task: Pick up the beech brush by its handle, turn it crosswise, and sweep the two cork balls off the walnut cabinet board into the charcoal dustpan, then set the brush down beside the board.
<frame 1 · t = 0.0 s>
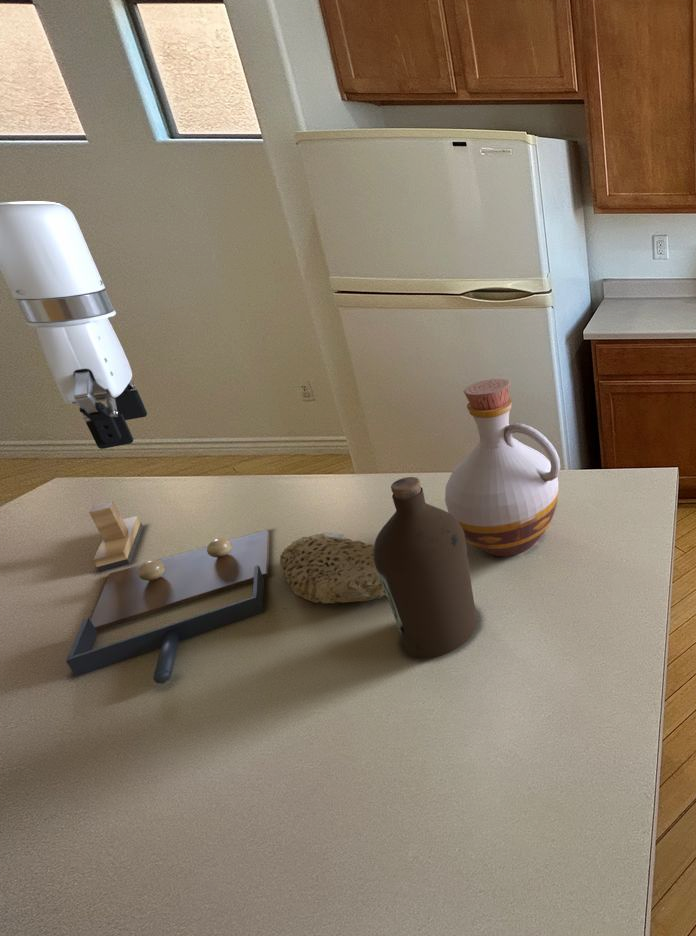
hand: (125, 431, 75), 27 cm above the counter, tool pointing down, fingers open, 9 cm apart
cabinet board: (191, 579, 88), on the counter
ball b: (219, 547, 90), point 3 cm above the counter, touching cabinet board
brush: (123, 550, 94), on the counter
sponge: (347, 585, 87), on the counter
ball a: (151, 570, 85), point 3 cm above the counter, touching cabinet board
dustpan: (181, 624, 79), on the counter
olive oil: (441, 634, 78), on the counter
jug: (517, 544, 97), on the counter
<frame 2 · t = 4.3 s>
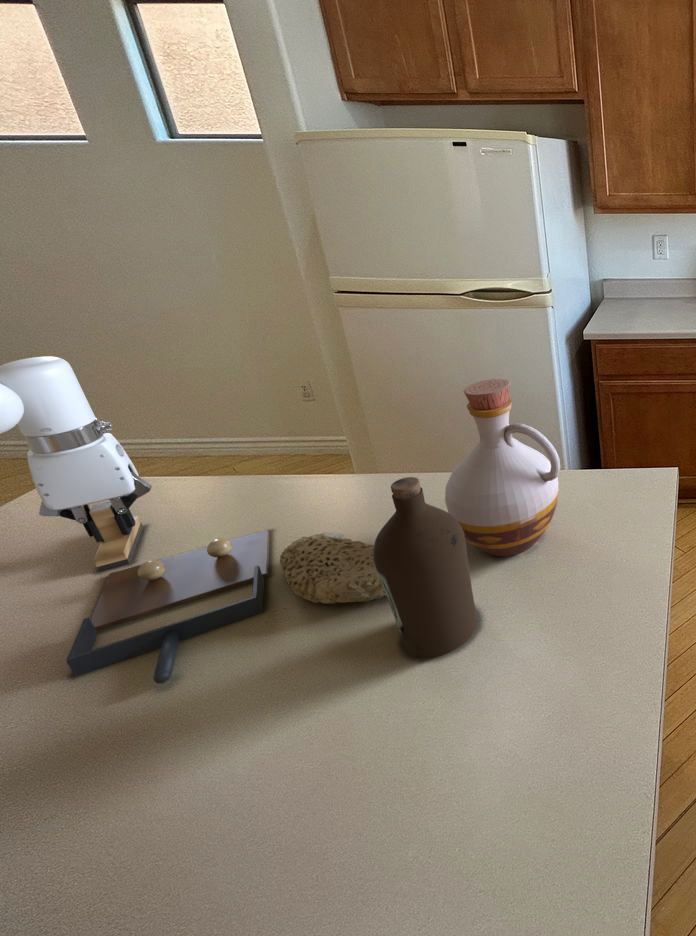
hand: (115, 533, 92), 4 cm above the counter, tool pointing down, fingers closed on brush, 2 cm apart
brush: (124, 550, 94), on the counter, touching gripper
everything else where it was.
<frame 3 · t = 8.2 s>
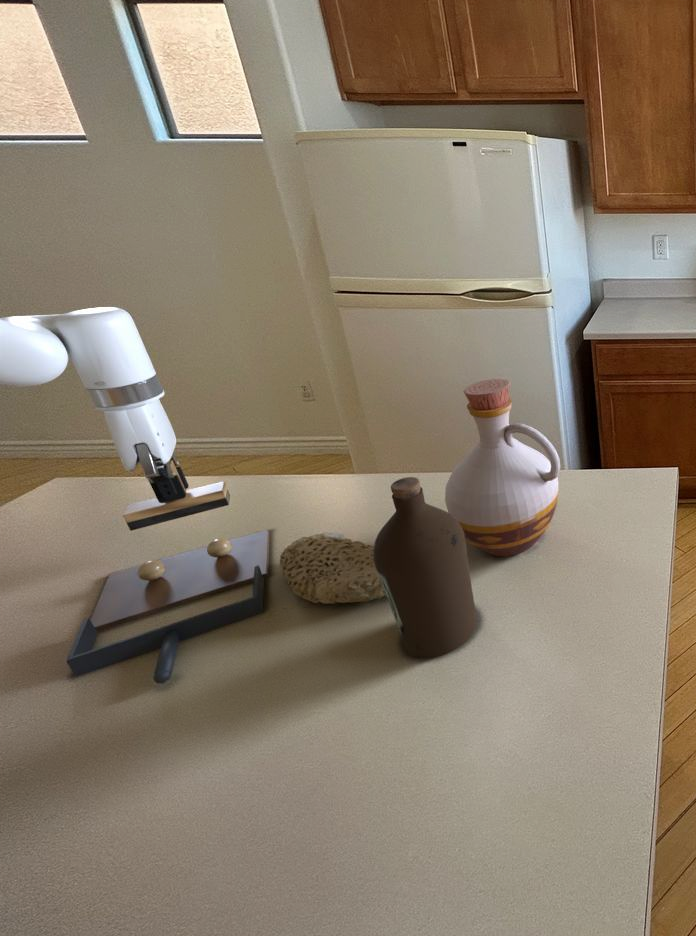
hand: (174, 494, 90), 11 cm above the counter, tool pointing down, fingers closed on brush, 2 cm apart
brush: (182, 512, 91), point 8 cm above the counter, touching gripper
everything else where it was.
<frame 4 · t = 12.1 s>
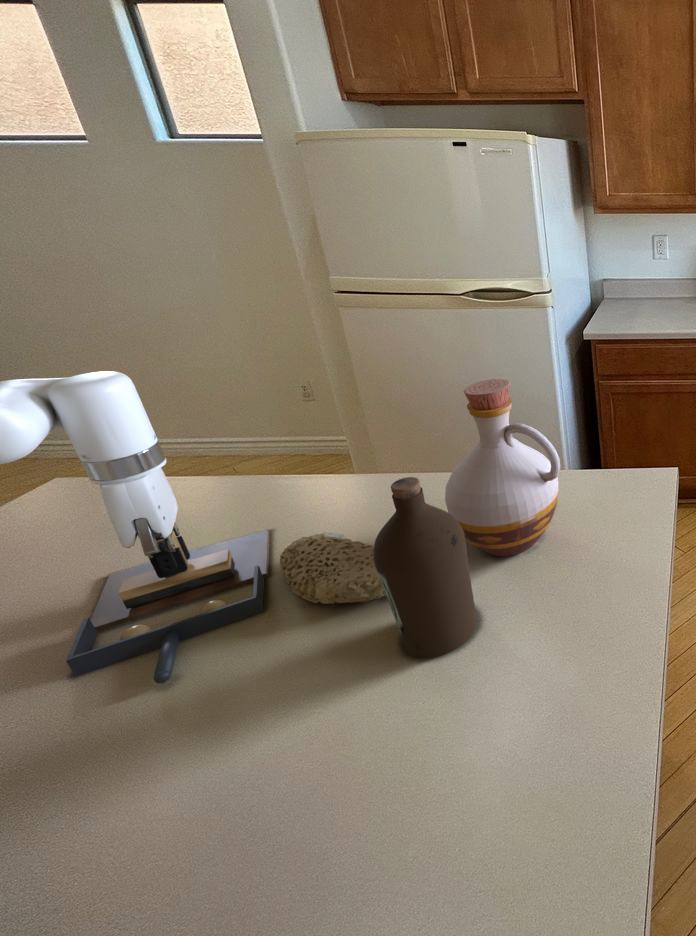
hand: (175, 566, 83), 5 cm above the counter, tool pointing down, fingers closed on brush, 2 cm apart
ball b: (214, 611, 79), point 2 cm above the counter, tilted 96°, touching dustpan
brush: (183, 585, 84), point 2 cm above the counter, touching gripper
ball a: (136, 636, 75), point 2 cm above the counter, tilted 141°, touching dustpan
everything else where it was.
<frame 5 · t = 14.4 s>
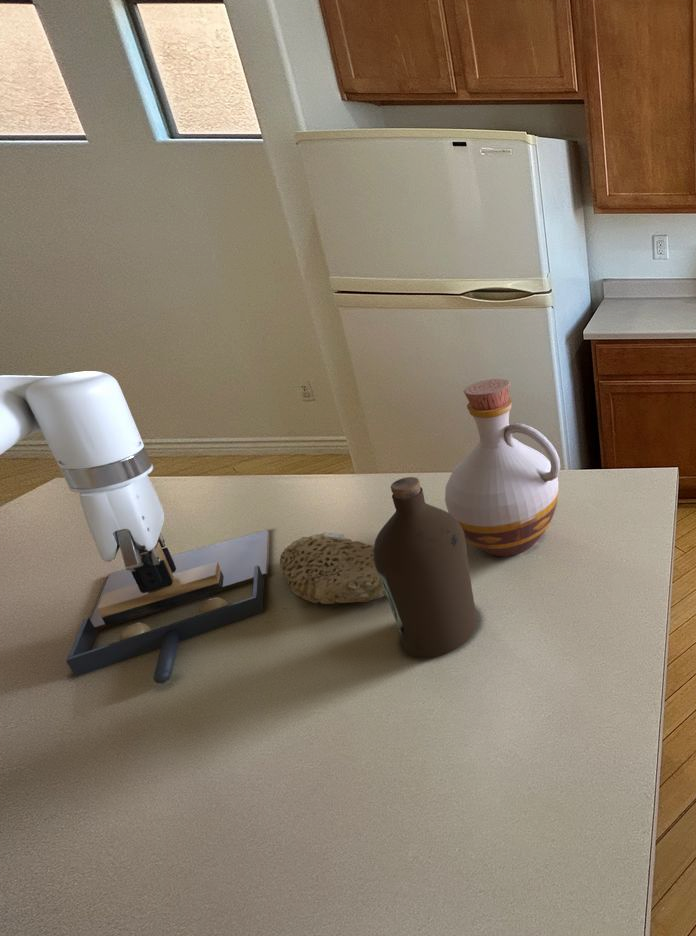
hand: (159, 580, 78), 7 cm above the counter, tool pointing down, fingers closed on brush, 2 cm apart
ball b: (213, 608, 80), point 2 cm above the counter, tilted 121°, touching dustpan
brush: (168, 600, 79), point 3 cm above the counter, touching gripper
ball a: (135, 635, 75), point 2 cm above the counter, tilted 155°, touching dustpan
everything else where it was.
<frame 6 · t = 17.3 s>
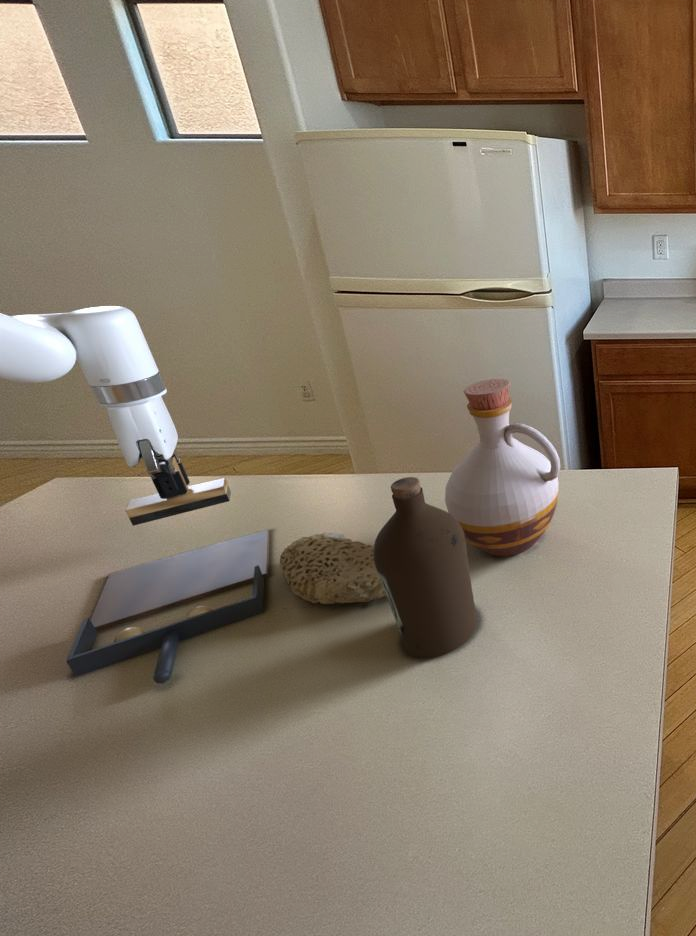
hand: (175, 490, 91), 11 cm above the counter, tool pointing down, fingers closed on brush, 2 cm apart
ball b: (200, 617, 78), point 2 cm above the counter, tilted 76°, touching dustpan
brush: (184, 508, 93), point 7 cm above the counter, touching gripper
ball a: (130, 638, 74), point 2 cm above the counter, tilted 135°, touching dustpan
everything else where it was.
when the fingers open (4 cm above the counter, at t = 19.2 s): brush stays where it is, on the counter.
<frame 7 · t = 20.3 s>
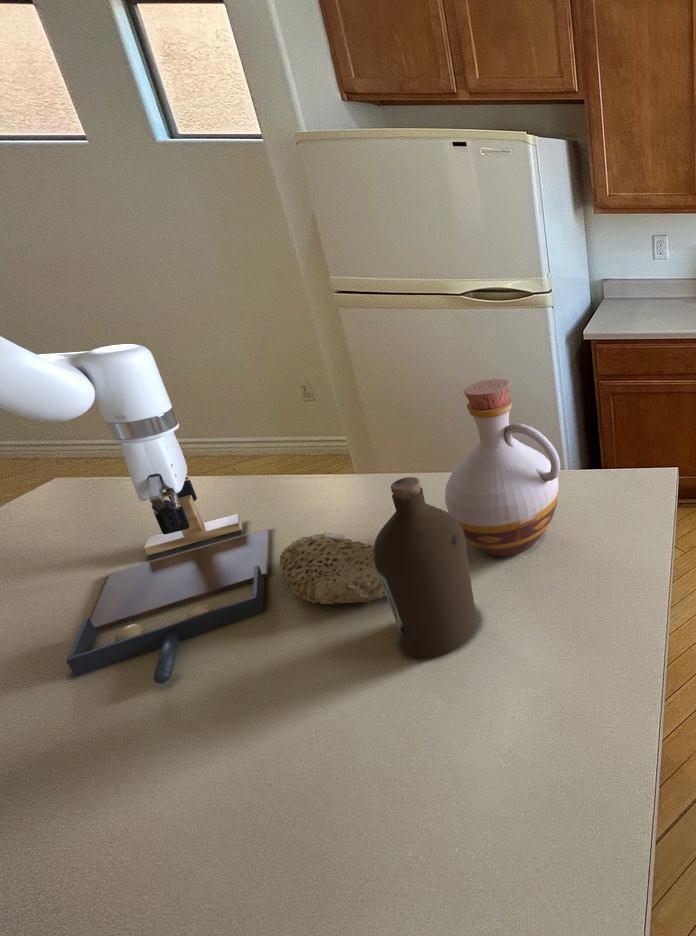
hand: (181, 516, 92), 6 cm above the counter, tool pointing down, fingers open, 9 cm apart
ball b: (200, 616, 78), point 2 cm above the counter, tilted 82°, touching dustpan
brush: (200, 544, 95), on the counter
ball a: (130, 636, 75), point 2 cm above the counter, tilted 152°, touching dustpan
everything else where it was.
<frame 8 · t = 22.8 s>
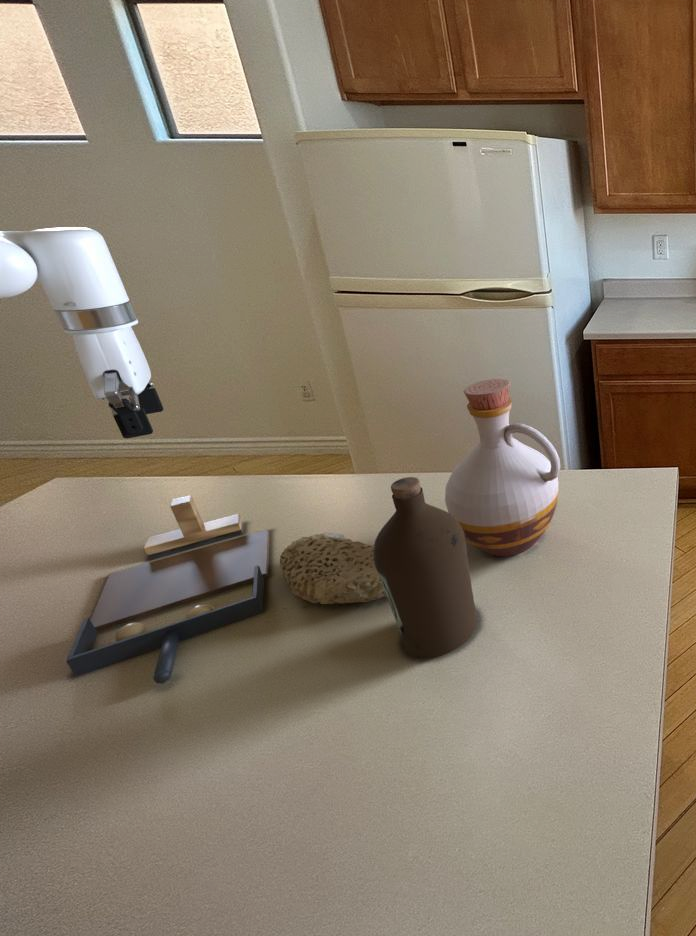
hand: (145, 423, 86), 23 cm above the counter, tool pointing down, fingers open, 9 cm apart
ball b: (200, 615, 78), point 2 cm above the counter, tilted 88°, touching dustpan
ball a: (131, 634, 75), point 2 cm above the counter, tilted 162°, touching dustpan
everything else where it was.
at the end: ball a inside the target area in the dustpan (4.5 cm from its centre), point 1.8 cm above the dustpan's base; ball b inside the target area in the dustpan (3.4 cm from its centre), point 1.8 cm above the dustpan's base; the gripper is holding nothing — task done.
